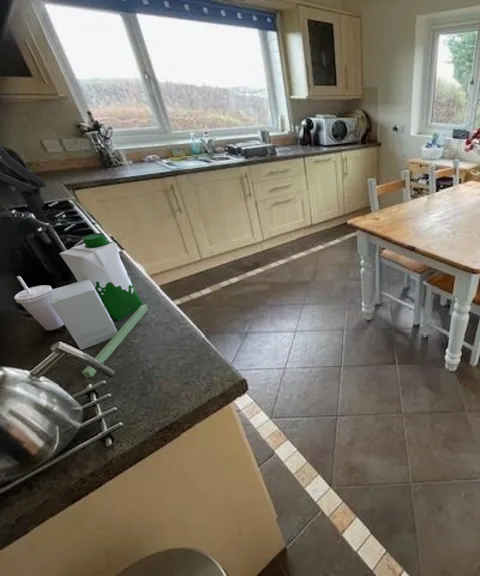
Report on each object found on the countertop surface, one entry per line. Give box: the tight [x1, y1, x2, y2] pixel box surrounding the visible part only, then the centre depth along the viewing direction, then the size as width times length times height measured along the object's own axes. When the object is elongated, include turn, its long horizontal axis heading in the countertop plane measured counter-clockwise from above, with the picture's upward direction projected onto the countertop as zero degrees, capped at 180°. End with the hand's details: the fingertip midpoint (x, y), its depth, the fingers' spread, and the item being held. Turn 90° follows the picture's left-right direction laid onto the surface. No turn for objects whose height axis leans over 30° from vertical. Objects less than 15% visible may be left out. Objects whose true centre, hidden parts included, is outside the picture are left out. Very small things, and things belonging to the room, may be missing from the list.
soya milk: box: [58, 232, 144, 322], centre depth 80 cm, size 9×9×20 cm
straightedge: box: [81, 304, 149, 379], centre depth 75 cm, size 1×24×2 cm, turn 8°
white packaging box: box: [48, 279, 118, 351], centre depth 73 cm, size 7×7×13 cm
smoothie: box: [13, 275, 65, 331], centre depth 76 cm, size 6×6×14 cm
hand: (5, 235), depth 66 cm, fingers open, 13 cm apart
